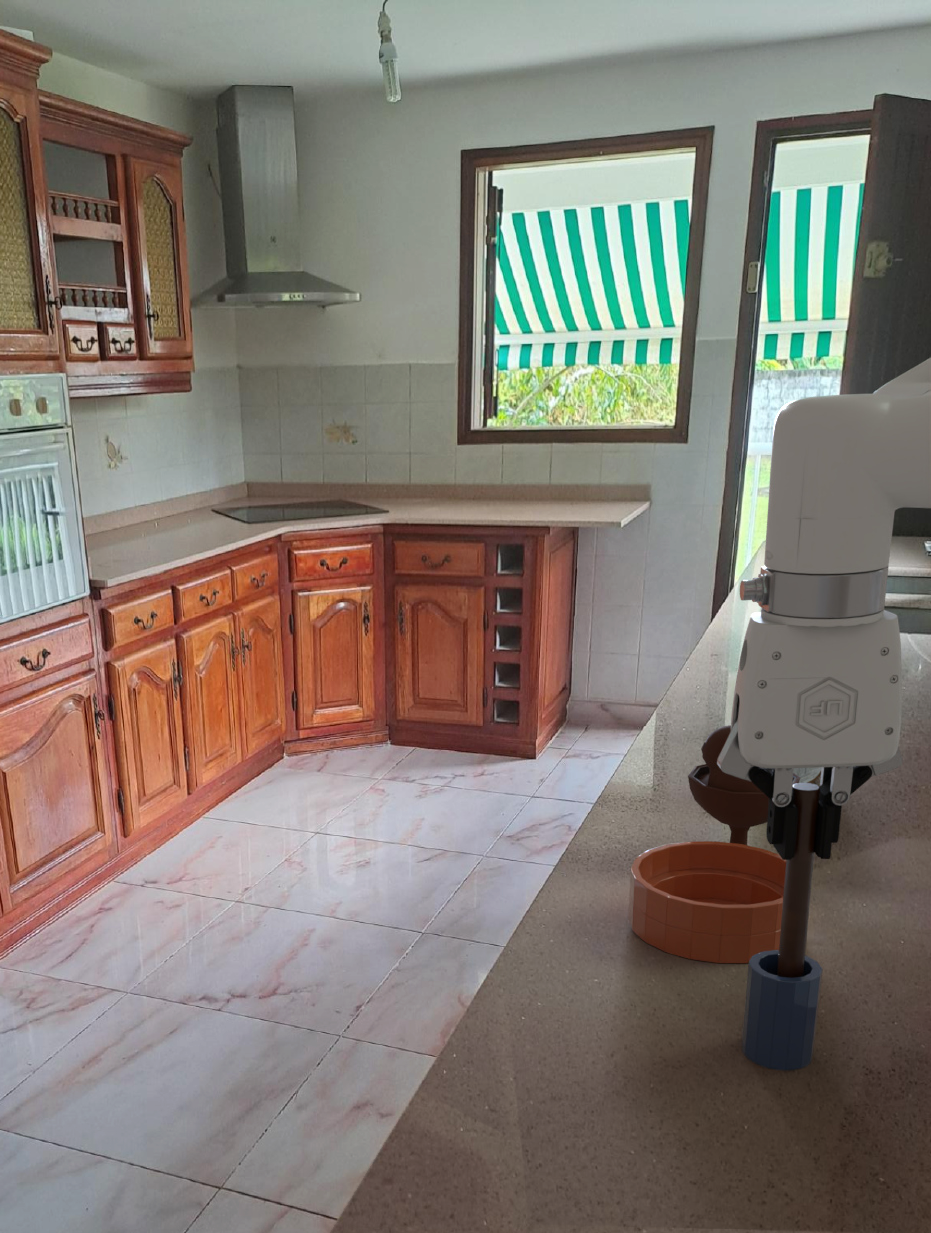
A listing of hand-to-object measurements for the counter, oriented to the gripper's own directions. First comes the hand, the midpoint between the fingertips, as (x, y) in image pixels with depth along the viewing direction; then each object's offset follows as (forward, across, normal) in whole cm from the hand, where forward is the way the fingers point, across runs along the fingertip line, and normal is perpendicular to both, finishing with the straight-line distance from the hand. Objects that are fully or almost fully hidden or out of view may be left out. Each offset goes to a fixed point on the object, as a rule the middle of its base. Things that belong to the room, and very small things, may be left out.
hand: (800, 850), depth 83 cm
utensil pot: (+17, 0, 0) cm, 17 cm away
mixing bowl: (+17, 0, +22) cm, 28 cm away
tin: (+18, +16, +61) cm, 66 cm away
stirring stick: (+13, 0, 0) cm, 13 cm away
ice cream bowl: (+18, +6, +39) cm, 43 cm away
